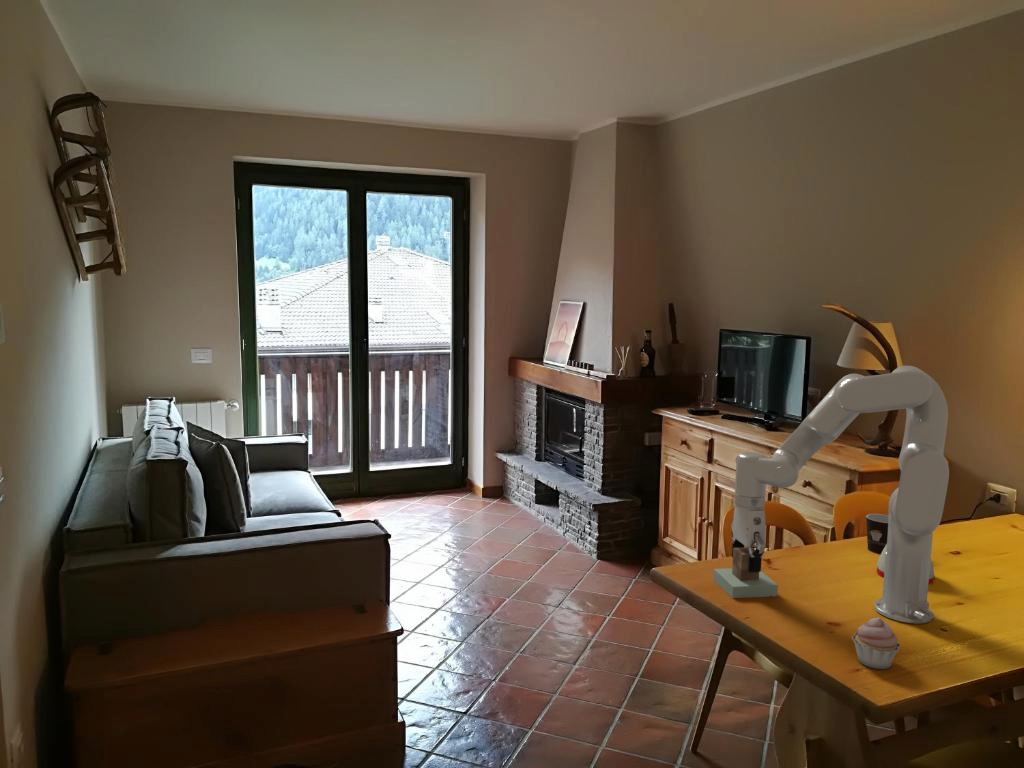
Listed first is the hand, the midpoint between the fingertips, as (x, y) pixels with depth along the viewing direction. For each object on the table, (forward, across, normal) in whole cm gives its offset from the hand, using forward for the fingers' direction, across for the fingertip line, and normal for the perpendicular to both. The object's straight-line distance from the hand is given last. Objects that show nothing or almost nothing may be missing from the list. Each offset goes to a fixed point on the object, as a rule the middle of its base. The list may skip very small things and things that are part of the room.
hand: (745, 564), depth 195 cm
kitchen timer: (+7, +4, -48) cm, 49 cm away
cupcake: (+6, -40, -10) cm, 42 cm away
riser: (+6, 0, 0) cm, 6 cm away
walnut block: (+3, 0, 0) cm, 3 cm away
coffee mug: (+6, +21, -54) cm, 58 cm away
